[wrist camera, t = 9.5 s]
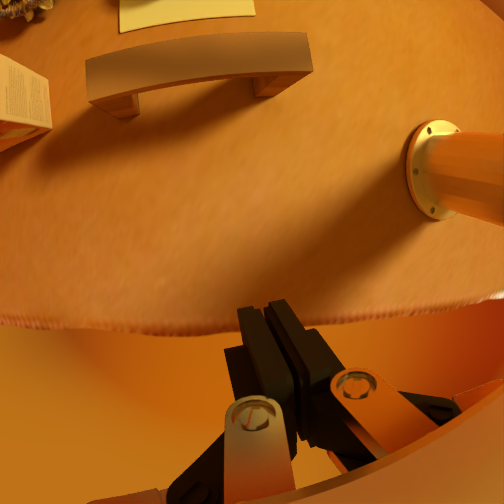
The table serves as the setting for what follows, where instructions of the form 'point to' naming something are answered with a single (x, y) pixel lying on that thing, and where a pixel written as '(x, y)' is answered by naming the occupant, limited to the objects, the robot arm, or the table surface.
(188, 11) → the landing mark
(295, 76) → the bridge
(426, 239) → the table surface
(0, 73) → the small box
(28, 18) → the passion flower
